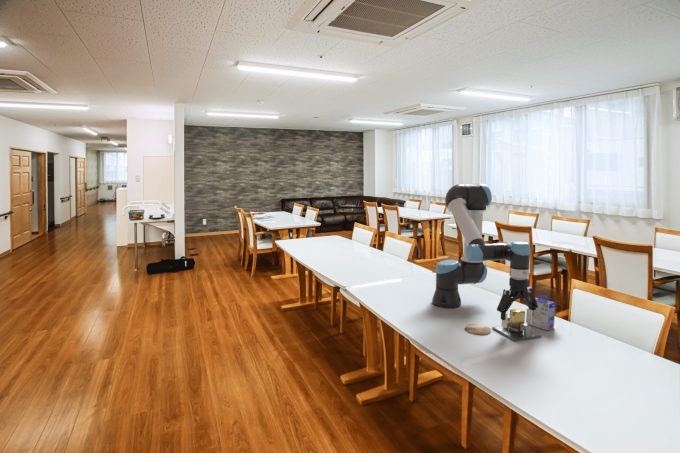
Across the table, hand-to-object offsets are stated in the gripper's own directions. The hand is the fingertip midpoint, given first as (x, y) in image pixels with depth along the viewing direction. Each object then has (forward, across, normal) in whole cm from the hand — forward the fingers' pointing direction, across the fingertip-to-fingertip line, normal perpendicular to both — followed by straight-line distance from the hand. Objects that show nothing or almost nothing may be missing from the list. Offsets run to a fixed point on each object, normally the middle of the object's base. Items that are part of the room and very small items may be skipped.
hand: (516, 325), depth 169 cm
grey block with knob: (+4, 0, 0) cm, 4 cm away
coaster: (+4, -14, +8) cm, 17 cm away
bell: (+1, 0, 0) cm, 1 cm away
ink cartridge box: (+4, +16, +3) cm, 17 cm away
